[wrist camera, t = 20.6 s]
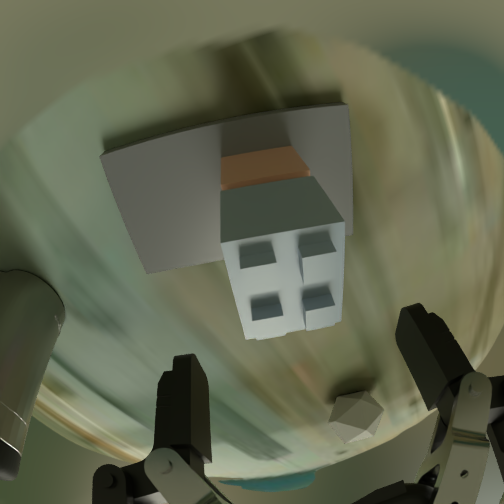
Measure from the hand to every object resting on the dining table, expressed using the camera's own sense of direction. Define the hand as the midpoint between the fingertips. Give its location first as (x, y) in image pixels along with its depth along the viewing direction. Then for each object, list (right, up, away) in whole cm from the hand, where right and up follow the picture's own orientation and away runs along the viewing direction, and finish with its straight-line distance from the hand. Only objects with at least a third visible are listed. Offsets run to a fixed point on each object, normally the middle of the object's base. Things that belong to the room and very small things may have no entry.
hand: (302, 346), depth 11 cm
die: (+14, -20, +35) cm, 43 cm away
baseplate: (-3, +8, +13) cm, 15 cm away
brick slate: (-1, +5, +7) cm, 8 cm away
